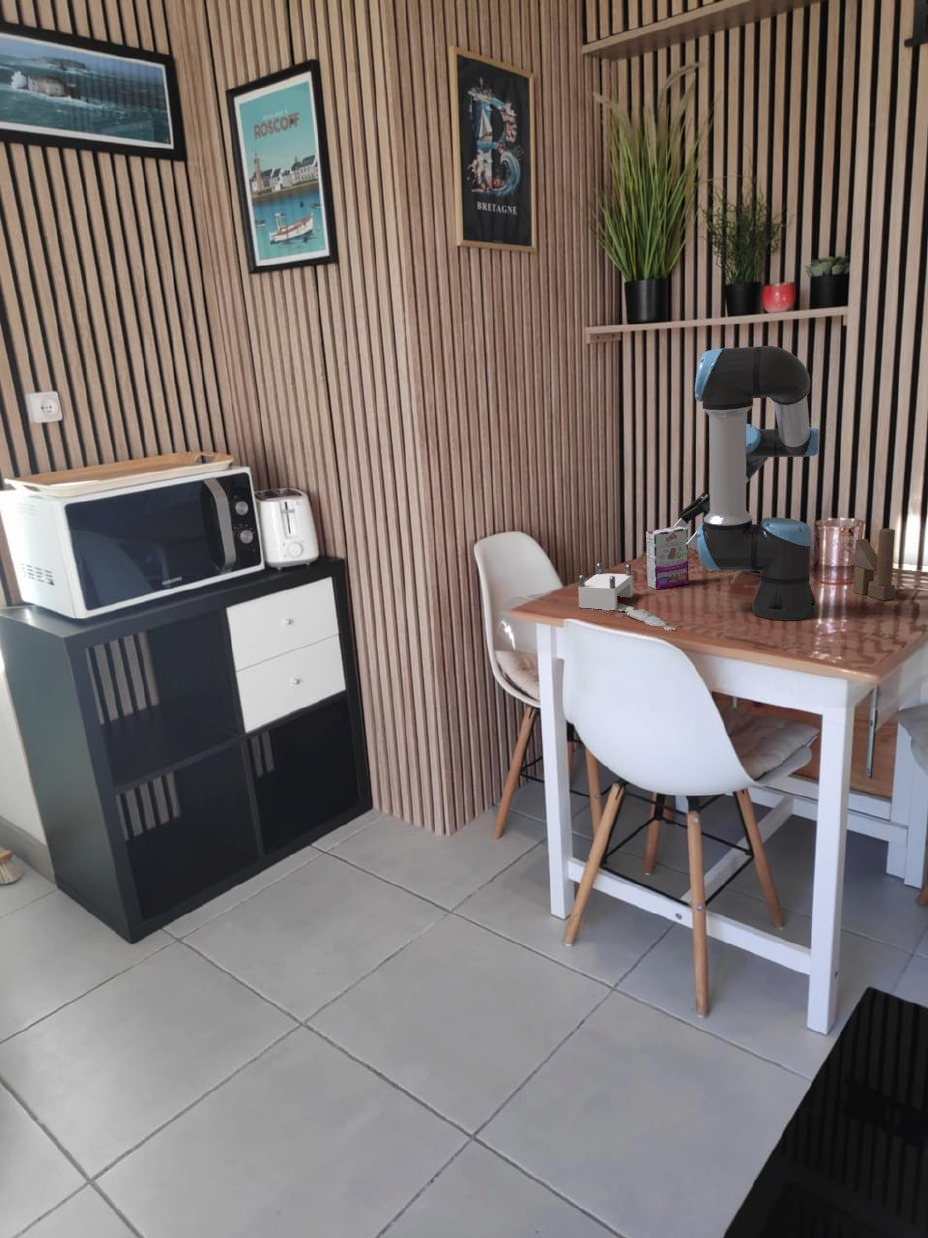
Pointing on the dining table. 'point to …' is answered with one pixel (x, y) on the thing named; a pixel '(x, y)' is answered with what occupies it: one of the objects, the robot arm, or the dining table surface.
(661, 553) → the candy bar box
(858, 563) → the wooden block stack
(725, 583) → the dining table surface
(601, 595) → the peg shelf
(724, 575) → the dining table surface
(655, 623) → the driftwood
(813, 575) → the dining table surface
